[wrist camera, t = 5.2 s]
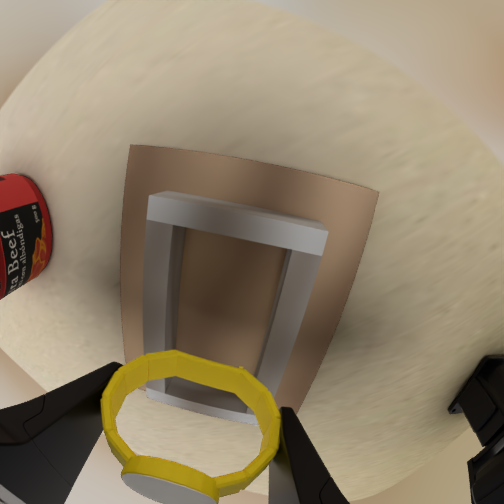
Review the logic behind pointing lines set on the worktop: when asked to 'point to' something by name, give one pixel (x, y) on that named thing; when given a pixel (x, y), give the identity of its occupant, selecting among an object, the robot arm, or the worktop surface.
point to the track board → (236, 270)
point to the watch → (171, 473)
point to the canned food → (22, 232)
